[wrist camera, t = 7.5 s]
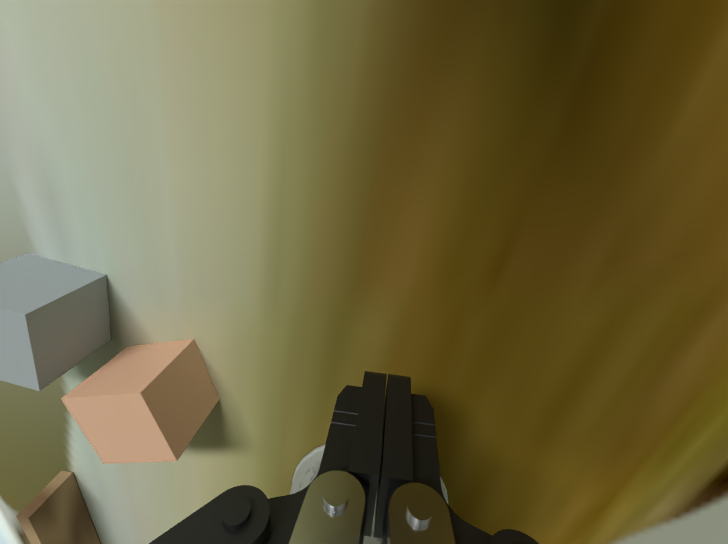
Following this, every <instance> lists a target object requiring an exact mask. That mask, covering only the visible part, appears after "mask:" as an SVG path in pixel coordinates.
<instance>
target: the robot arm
mask: <svg viewBox="0 0 728 544" xmlns="http://www.w3.org/2000/svg"><path fill="white" fill-rule="evenodd" d="M386 376H387V374H383V373H375V372H368V371H365V374H364V380H363V386H362V387H356V386H349V385H347V386H346V387H345V388H344V389H343V390H342V392H341V393H340V394H339V395H338V397H337V401H336V405H335V409H334V413H333V417H332V421H331V425H330V429H329V433H328V437H327V441H326V444H325V448H324V452H323V456H322V460H321V464H320V468H319V471H318V473H317V475H316V477H315V478H314V480H313V481H312V482H311V483H310V484H309V485H308V486H307V487H305V488H304V489H302V490H301V491H299V492H296V493H294V494H290V495H286V496H280V497H275V498H270V499H267V497H266V495H265V494H264V493H263V492H262V491H261V490H260V489H258V488H256V487H254V486H249V485H242V486H237V487H233V488H231V489H228V490H227V491H225V492H223V493H222V494H220V495H219V496H217V497H216V498H214V499H213V500H211V501H210V502H209V503H207V504H206V505H204V506H203V507H201V508H200V509H198V510H197V511H196V512H194V513H193V514H191V515H190V516H188V517H187V518H185V519H184V520H182V521H181V522H180V523H178V524H177V525H175V526H174V527H172V528H171V529H169V530H168V531H167V532H165V533H164V534H162V535H161V536H159V537H158V538H156V539H155V540H153V541H152V542H151V543H149V544H363V541H364V536H369V537H371V532H372V525H373V517H374V510H375V502H376V510H375V523H374V536H373V537H376V538H382V542H381V544H539V543H538V542H536V541H535V540H534V539H533V538H531V537H530V536H528V535H526V534H524V533H522V532H520V531H516V530H511V529H505V530H501V531H498V532H497V533H495V534H494V535H493V536H491V535H490V534H488V533H486V532H484V531H482V530H480V529H478V528H476V527H474V526H472V525H470V524H468V523H467V522H465V521H464V520H462V519H461V518H460V517H458V516H457V515H456V514H455V513H454V512H453V510H452V509H451V508H450V507H449V505H448V503H447V502H446V500H445V498H444V495H443V492H442V488H441V480H440V470H439V460H438V450H437V440H436V431H435V421H434V411H433V408H432V406H431V404H430V403H429V401H428V399H427V398H426V396H423V395H416V394H411V378H410V377H406V376H398V375H391V374H388V380H387V388H386ZM385 389H386V396H385ZM384 403H385V404H384ZM376 495H377V498H376Z"/></svg>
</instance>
